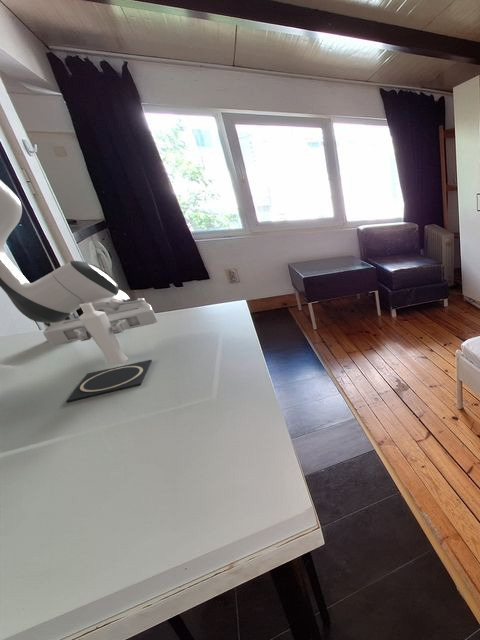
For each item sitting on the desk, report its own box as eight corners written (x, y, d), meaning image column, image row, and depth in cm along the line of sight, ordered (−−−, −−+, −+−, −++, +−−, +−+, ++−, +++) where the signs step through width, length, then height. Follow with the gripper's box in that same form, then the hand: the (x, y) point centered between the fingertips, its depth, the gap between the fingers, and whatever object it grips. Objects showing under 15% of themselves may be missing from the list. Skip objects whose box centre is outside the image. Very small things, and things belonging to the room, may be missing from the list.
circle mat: (67, 402, 80) (65, 400, 80) (87, 374, 91) (86, 373, 90) (140, 384, 85) (139, 382, 85) (152, 360, 96) (151, 358, 96)
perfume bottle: (113, 367, 86) (79, 308, 79) (101, 365, 88) (67, 307, 81) (134, 358, 90) (103, 301, 83) (122, 356, 91) (91, 300, 84)
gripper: (45, 316, 88) (29, 334, 78) (150, 296, 98) (148, 310, 88) (59, 339, 91) (46, 359, 81) (160, 317, 101) (159, 333, 91)
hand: (100, 333), depth 84 cm, fingers closed on perfume bottle, 4 cm apart
